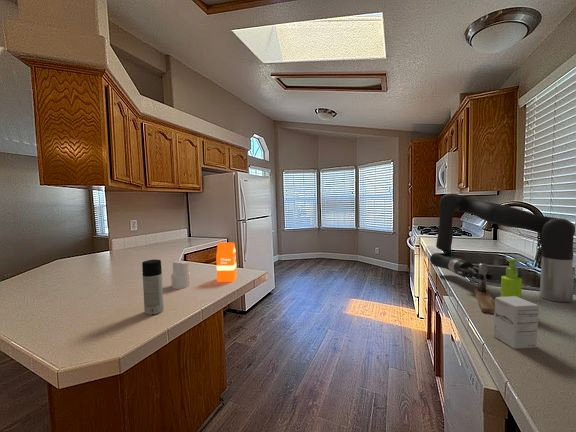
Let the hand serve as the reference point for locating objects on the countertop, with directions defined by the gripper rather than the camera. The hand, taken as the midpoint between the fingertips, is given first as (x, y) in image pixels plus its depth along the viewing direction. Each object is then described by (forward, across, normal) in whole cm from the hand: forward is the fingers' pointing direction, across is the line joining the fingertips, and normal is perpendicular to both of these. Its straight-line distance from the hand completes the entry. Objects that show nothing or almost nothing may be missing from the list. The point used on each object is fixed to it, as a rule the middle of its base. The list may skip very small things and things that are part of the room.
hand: (487, 277), depth 117 cm
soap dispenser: (+15, -2, +9) cm, 18 cm away
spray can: (+6, -137, +9) cm, 137 cm away
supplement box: (+35, -18, +9) cm, 40 cm away
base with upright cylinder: (+7, 0, +8) cm, 11 cm away
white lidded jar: (-26, -137, +9) cm, 140 cm away
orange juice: (-34, -116, +9) cm, 121 cm away
